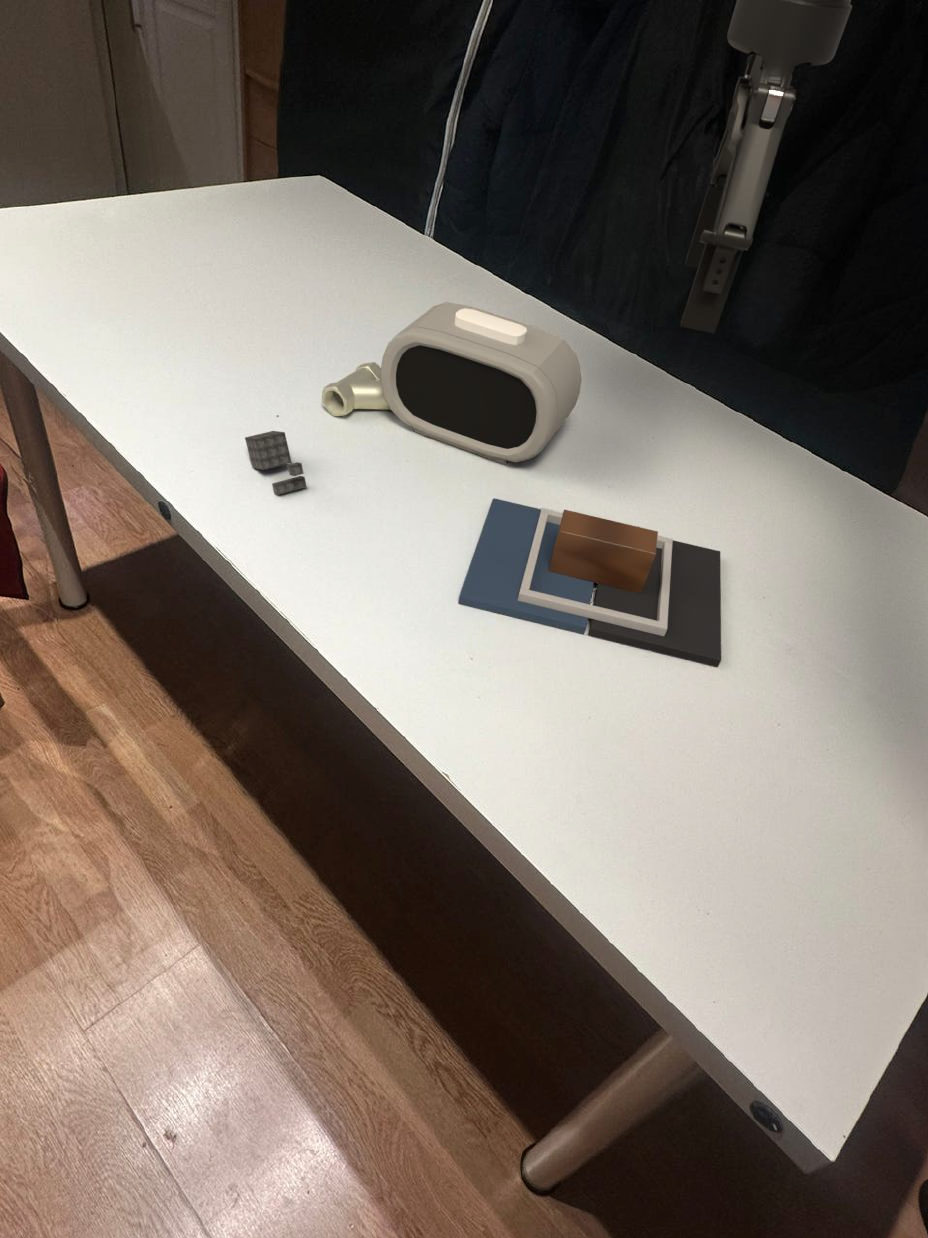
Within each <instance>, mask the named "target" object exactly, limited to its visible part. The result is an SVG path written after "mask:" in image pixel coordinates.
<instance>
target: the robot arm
mask: <svg viewBox="0 0 928 1238" xmlns="http://www.w3.org/2000/svg"><path fill="white" fill-rule="evenodd" d="M851 2H852V0H736V3H735V6H734V10H733V13H732V16H731V19H730V24H729V27H728V30H727V34H726V40H727V42H728V44H729V45H730V46H731V47H732V48H734V49H735V50H736V51H740V52H742V53H745V54H748V55H749V56H748V57H747V60H746V67H745V68H746V69H745V72H744V75H743V76H739V77H738V80H737V81H736V84H735V88H734V93H733V96H732V101H731V104H732V105H731V108H730V111H729V113H728V117H727V122H726V127H725V131H724V133H723V136H722V140H721V141H720V144H719V148H718V151H717V154H716V156H715V158H713V160H712V172H711V174H710V178H709V180H710V185H714V186H709V185H708V186H707V189H706V192H705V196H704V199H703V202H702V206H701V208H700V209H701V210H700V212H699V215H698V219H697V222H696V225H695V229H694V232H693V235H692V239H691V242H690V244H689V248H688V252H687V255H686V257H685V261H684V266H685V267H691V268H696V269H697V270H696V273H695V275H694V280H693V283H692V286H691V288H690V292H689V295H688V299H687V302H686V305H685V308H684V310H683V314H682V317H681V320H680V325H679V326H680V327H681V328H685V329H689V330H695V331H700V332H704V333H709V334H713V335H714V334H715V333H716V329H717V327H718V325H719V321H720V319H721V316H722V314H723V310H724V307H725V304H726V301H727V299H728V296H729V293H730V291H731V287H732V285H733V282H734V280H735V279H734V278H735V276H736V273H737V271H738V269H739V265H740V262H741V259H742V256H743V254H744V251H748V250H749V249H750V248H751V246H752V245H753V244H752V243H753V242H754V237H753V236H754V232H755V229H756V225H757V222H758V219H759V215H760V211H761V207H762V205H763V202H764V198H765V194H766V191H767V187H768V185H769V181H770V177H771V174H772V170H773V167H774V164H775V160H776V156H777V153H778V149H779V147H780V142H781V140H782V136H783V133H784V129H785V127H786V123H787V120H788V118H789V116H790V114H791V112H792V110H793V107H794V105H795V102H796V99H797V96H796V93H797V90H796V89H795V88H794V87H793V86H790V85H791V82H792V78H793V73H794V70H795V68H796V67H797V66H799V65H806V66H810V67H811V66H813V67H814V66H815V67H818V66H823V65H827V64H828V63H830V62H831V61H832V60H833V59H834V57H835V56H836V53H837V50H838V47H839V44H840V41H841V40H842V37H843V35H844V34H843V33H844V31H845V28H846V25H847V22H848V20H849V17H850V14H851V11H852V9H853V5H852V4H851ZM731 225H732V226H733V225H734V226H737V227H739V228H736V227H730V226H731Z"/></svg>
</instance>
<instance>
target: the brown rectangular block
mask: <svg viewBox="0 0 928 1238" xmlns="http://www.w3.org/2000/svg"><path fill="white" fill-rule="evenodd" d="M562 513H563V515H562V519H561V523H560V527H559V531H558V535H557V539H556V543H555V546H554V550H553V555H552V559H551V563H550V567H549V572H553V573H557V574H561V575H565V576H569V577H574V578H578V579H582V580H586V581H590V582H594V584H597V583H598V584H602V585H607V586H611V587H615V588H619V589H623V590H627V591H631V592H636V593H640V594H641V593H642V590H643V587H644V585H645V582H646V579H647V577H648V574H649V571H650V569H651V566H652V563H653V561H654V558H655V555H656V548H657V536H659V531H658V530H654V529H649V528H646V527H641V526H636V525H632V524H628V523H623V522H620V521H615V520H611V519H607V518H603V517H599V516H595V515H590V514H585V513H581V512H577V511H573V510H568V509H563V511H562Z"/></svg>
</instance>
